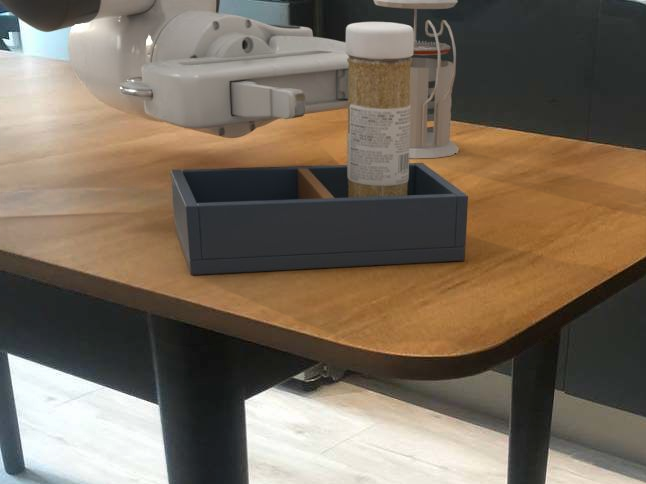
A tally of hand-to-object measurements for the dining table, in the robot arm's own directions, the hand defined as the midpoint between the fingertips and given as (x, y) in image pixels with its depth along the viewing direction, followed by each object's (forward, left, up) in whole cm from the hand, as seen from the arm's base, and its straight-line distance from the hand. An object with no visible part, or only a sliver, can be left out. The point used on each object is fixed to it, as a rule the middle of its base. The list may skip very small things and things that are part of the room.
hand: (347, 98), depth 76 cm
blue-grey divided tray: (-3, -2, -10) cm, 10 cm away
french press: (+14, +31, -10) cm, 35 cm away
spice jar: (+2, -2, -9) cm, 9 cm away
